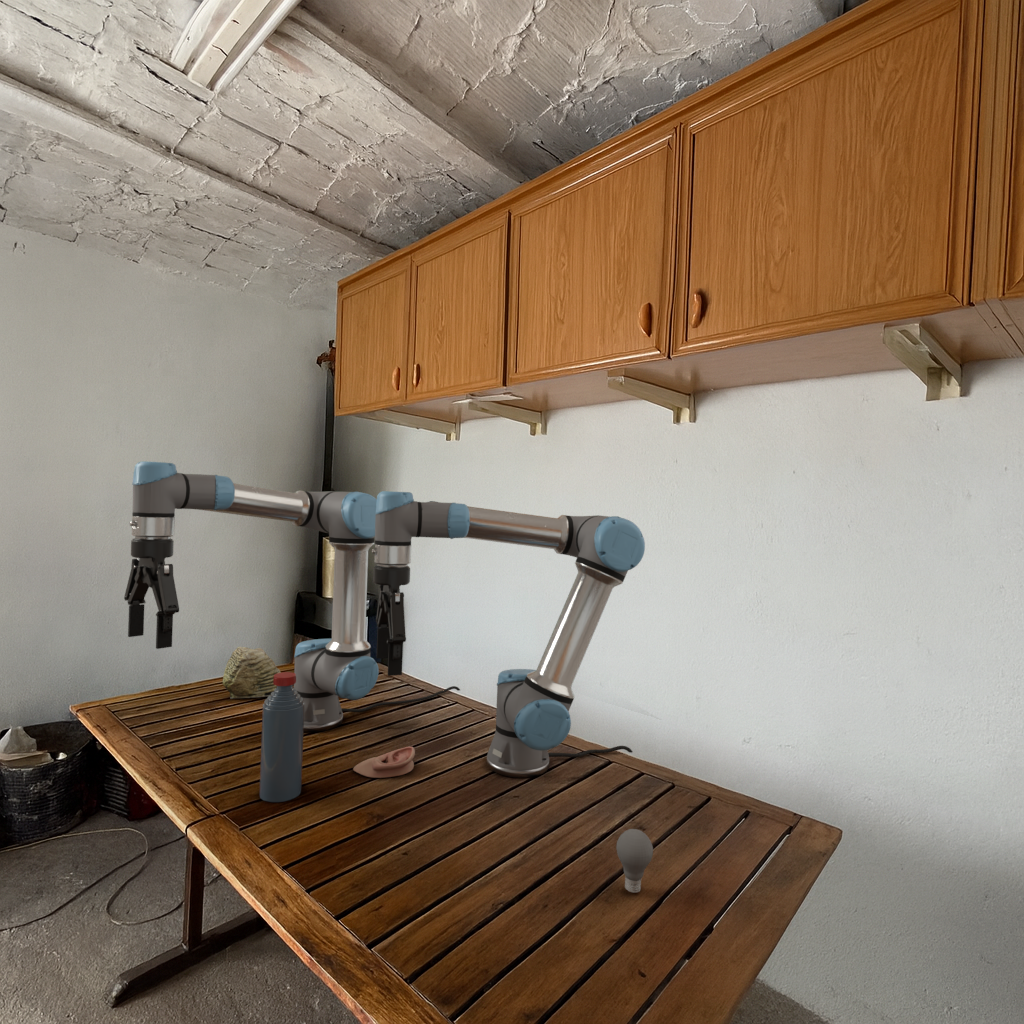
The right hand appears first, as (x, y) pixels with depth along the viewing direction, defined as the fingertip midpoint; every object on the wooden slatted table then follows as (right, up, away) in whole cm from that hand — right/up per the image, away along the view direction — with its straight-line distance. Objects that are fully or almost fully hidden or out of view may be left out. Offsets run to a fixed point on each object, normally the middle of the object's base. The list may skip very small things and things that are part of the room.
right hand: (388, 666), depth 133 cm
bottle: (-23, -28, +2) cm, 36 cm away
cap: (-22, -3, +2) cm, 22 cm away
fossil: (-55, -25, +65) cm, 89 cm away
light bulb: (+46, -31, -27) cm, 62 cm away
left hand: (-48, +6, -3) cm, 49 cm away
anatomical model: (-4, -28, +16) cm, 33 cm away
